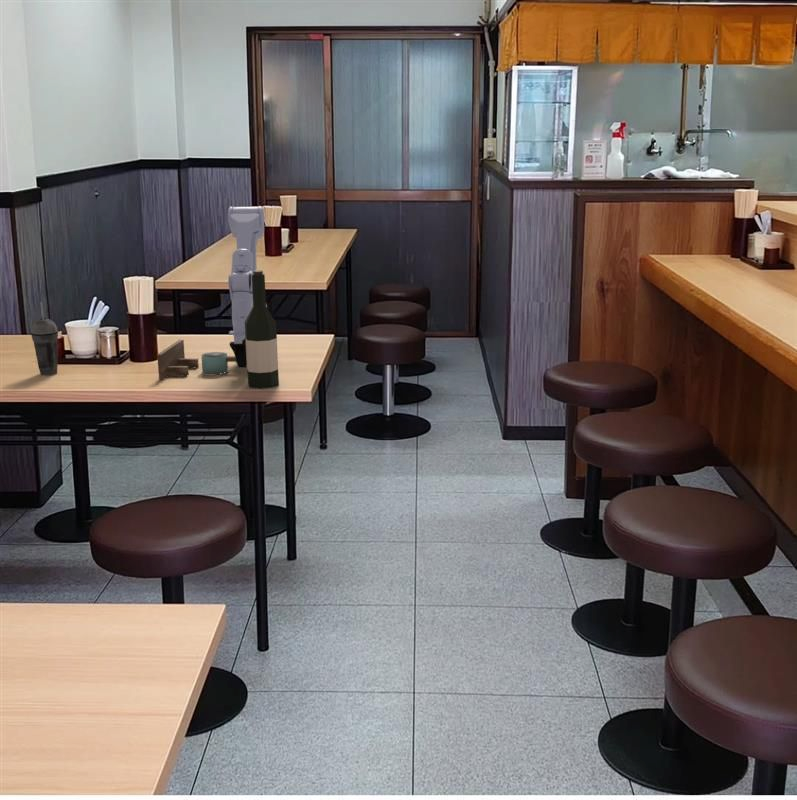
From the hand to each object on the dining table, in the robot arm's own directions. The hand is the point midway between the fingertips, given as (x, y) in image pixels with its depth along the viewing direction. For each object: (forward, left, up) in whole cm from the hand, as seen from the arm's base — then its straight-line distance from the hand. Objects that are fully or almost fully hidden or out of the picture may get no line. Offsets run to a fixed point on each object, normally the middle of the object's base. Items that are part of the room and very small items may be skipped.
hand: (245, 364), depth 279 cm
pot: (+5, 0, -2) cm, 6 cm away
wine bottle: (-8, +14, -2) cm, 16 cm away
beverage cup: (+55, +4, -2) cm, 55 cm away
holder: (+18, 0, -2) cm, 18 cm away
